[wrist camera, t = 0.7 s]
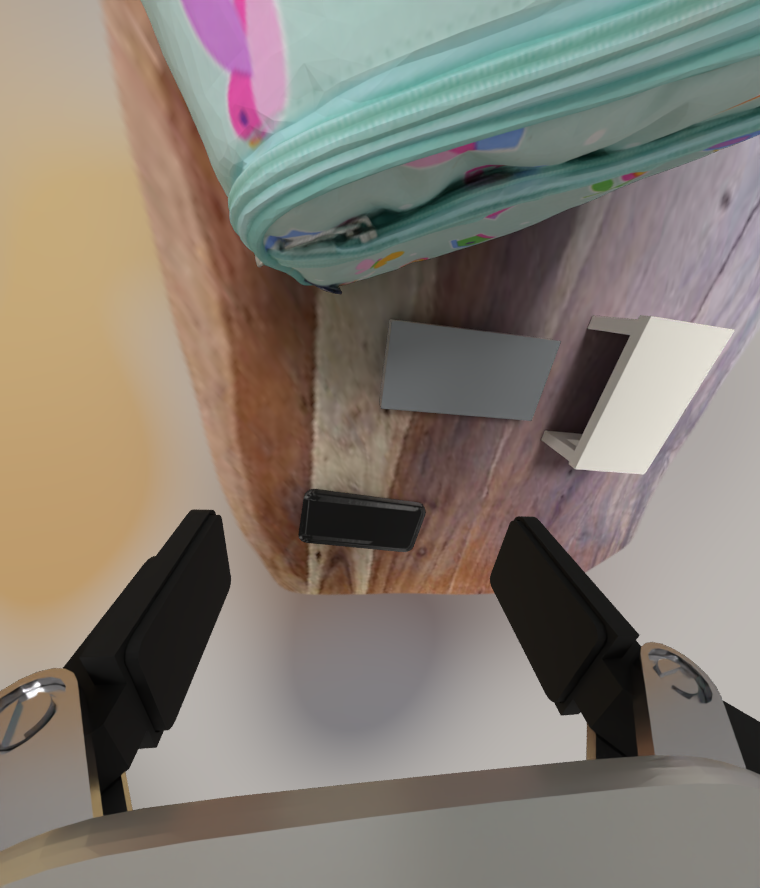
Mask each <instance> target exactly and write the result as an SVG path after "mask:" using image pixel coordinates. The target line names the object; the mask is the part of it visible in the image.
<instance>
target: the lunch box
mask: <svg viewBox="0 0 760 888" xmlns="http://www.w3.org/2000/svg"><path fill="white" fill-rule="evenodd" d="M141 2H142V4H143V6H144V8H145V10H146V12H147V15H148V17H149V19H150V22H151V24H152V27H153V29H154V32H155V35H156V37H157V40H158V42H159V45H160V48H161V50H162V53H163V55H164V57H165V60H166V62H167V64H168V66H169V68H170V70H171V72H172V74H173V76H174V79H175V81H176V83H177V85H178V87H179V89H180V91H181V93H182V95H183V98H184V100H185V102H186V104H187V106H188V108H189V111H190V113H191V115H192V118H193V120H194V122H195V125H196V127H197V129H198V132H199V134H200V136H201V139H202V141H203V143H204V146H205V148H206V151H207V154H208V156H209V159H210V162H211V165H212V167H213V169H214V172H215V174H216V176H217V178H218V180H219V182H220V184H221V186H222V187H223V189H224V191H225V193H226V195H227V197H228V207H229V211H230V223H231V225H232V227H233V229H234V231H235V232H236V233H237V234H238V235H239V236H240V238H241V240H242V242H243V243H244V244H245V245H246V246H247V247H248V249H250V250H251V251H253V252H254V254H255V258H256V263H257V266H258V267H261V266H263V265H266V266H269V267H271V268H274V269H277V270H279V271H282V272H285V273H287V274H288V275H291V276H292V277H293V278H295V279H296V280H297V281H298V282H299V283H300V284H302V285H314V286H316V287H318V288H320V289H322V290H324V291H327V292H331V293H335V294H342V291H341V290H340V288H338V287H339V286H342V285H346V284H349V283H352V282H355V281H359V280H363V279H367V278H371V277H373V276H376V275H379V274H383V273H386V272H390V271H393V270H396V269H399V268H401V267H404V266H406V265H408V264H410V263H411V262H417V261H423V260H427V259H431V258H434V257H438V256H441V255H444V254H447V253H450V252H453V251H456V250H460V249H463V248H467V247H470V246H473V245H476V244H479V243H482V242H486V241H489V240H492V239H495V238H498V237H501V236H504V235H507V234H510V233H513V232H516V231H519V230H521V229H524V228H526V227H529V226H531V225H534V224H536V223H539V222H541V221H543V220H545V219H547V218H549V217H552V216H554V215H556V214H558V213H560V212H563V211H565V210H567V209H570V208H573V207H576V206H579V205H582V204H584V203H587V202H589V201H592V200H594V199H597V198H599V197H601V196H603V195H605V194H607V193H609V192H612V191H614V190H616V189H619V188H621V187H623V186H626V185H628V184H630V183H633V182H636V181H638V180H641V179H643V178H646V177H649V176H652V175H655V174H658V173H661V172H664V171H666V170H669V169H672V168H675V167H678V166H680V165H683V164H686V163H689V162H691V161H694V160H697V159H699V158H702V157H704V156H706V155H709V154H711V153H714V152H716V151H718V150H721V149H724V148H727V147H729V146H732V145H735V144H738V143H740V142H743V141H745V140H747V139H750V138H752V137H755V136H757V135H759V134H760V0H141Z"/></svg>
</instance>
